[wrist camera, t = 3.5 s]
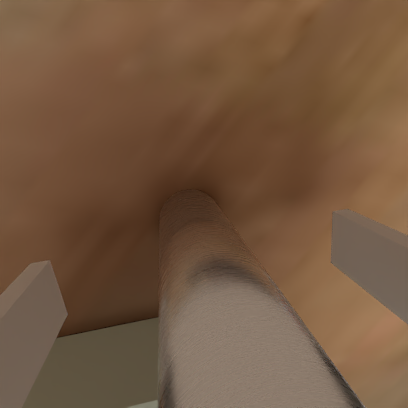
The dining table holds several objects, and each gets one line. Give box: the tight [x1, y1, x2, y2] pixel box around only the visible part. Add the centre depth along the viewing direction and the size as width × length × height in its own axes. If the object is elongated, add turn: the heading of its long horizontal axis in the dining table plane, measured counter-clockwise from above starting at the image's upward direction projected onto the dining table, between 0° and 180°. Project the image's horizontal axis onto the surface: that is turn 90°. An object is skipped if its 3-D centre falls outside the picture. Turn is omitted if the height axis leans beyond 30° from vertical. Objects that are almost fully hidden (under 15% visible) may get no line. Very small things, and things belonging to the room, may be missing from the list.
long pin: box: [158, 190, 365, 408], centre depth 10 cm, size 4×4×14 cm
